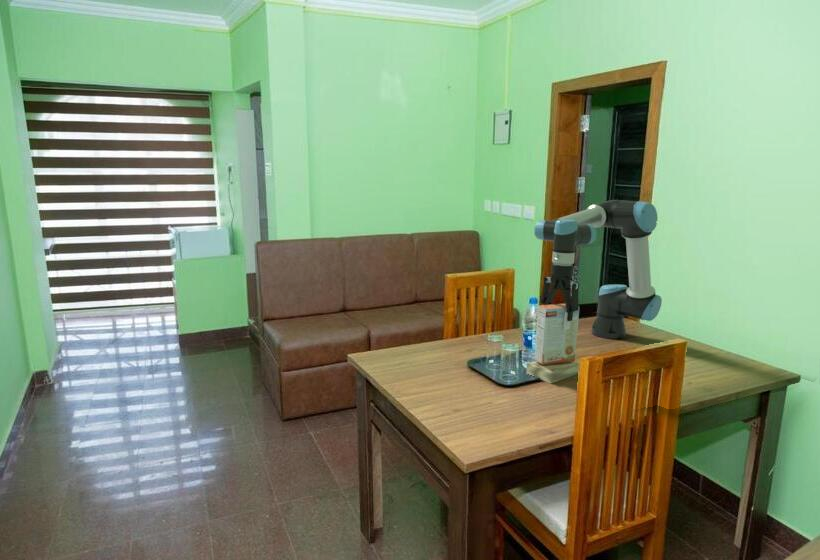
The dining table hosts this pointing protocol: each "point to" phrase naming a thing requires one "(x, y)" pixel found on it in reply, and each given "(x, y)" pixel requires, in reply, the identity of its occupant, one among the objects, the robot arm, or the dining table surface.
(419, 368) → the dining table surface
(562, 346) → the cracker box
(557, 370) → the stack of paper napkins
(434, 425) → the dining table surface
